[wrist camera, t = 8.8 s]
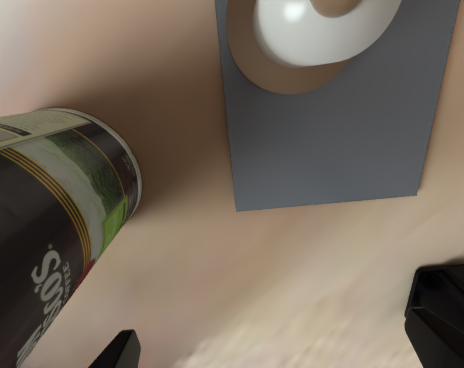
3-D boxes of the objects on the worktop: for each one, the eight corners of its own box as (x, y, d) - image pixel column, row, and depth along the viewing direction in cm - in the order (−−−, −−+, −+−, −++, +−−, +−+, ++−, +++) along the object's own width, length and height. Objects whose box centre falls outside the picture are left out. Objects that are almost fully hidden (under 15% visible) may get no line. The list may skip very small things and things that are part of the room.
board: (411, 192, 20) (416, 195, 19) (236, 207, 20) (236, 211, 19) (467, -75, 13) (477, -81, 13) (210, -44, 14) (209, -50, 13)
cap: (337, 64, 13) (417, 53, 8) (254, 72, 13) (273, 68, 8) (344, -42, 11) (456, -158, 6) (249, -31, 12) (268, -135, 6)
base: (340, 86, 16) (359, 87, 14) (232, 97, 16) (232, 100, 14) (350, -54, 13) (376, -82, 11) (220, -39, 13) (218, -63, 11)
